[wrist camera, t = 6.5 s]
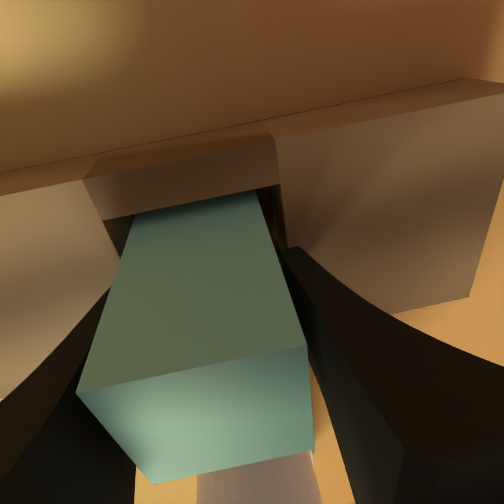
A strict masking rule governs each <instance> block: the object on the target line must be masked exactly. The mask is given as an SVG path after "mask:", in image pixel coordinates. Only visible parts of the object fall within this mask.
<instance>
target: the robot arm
mask: <svg viewBox="0 0 504 504" xmlns="http://www.w3.org/2000/svg"><path fill="white" fill-rule="evenodd" d="M280 255H281V262H282V269H283V275H284V278H285V281H286V284H287V287H288V290H289V293H290V296H291V299H292V302H293V305H294V308H295V311H296V314H297V317H298V320H299V323H300V326H301V328H302V331H303V334H304V337H305V340H306V343H307V351H308V360H309V362H310V365H311V367H312V370H313V372H314V374H315V377H316V379H317V382H318V384H319V386H320V389H321V392H322V395H323V397H324V400H325V403H326V406H327V410H328V413H329V416H330V419H331V422H332V426H333V429H334V432H335V435H336V439H337V442H338V445H339V449H340V452H341V455H342V459H343V462H344V465H345V469H346V472H347V475H348V479H349V482H350V486H351V489H352V493H353V496H354V499H355V503H356V504H504V367H503V366H501V365H498V364H495V363H492V362H490V361H487V360H485V359H482V358H480V357H477V356H475V355H472V354H470V353H468V352H465V351H463V350H460V349H458V348H456V347H453V346H451V345H449V344H447V343H444V342H442V341H440V340H438V339H436V338H434V337H432V336H430V335H427V334H425V333H423V332H421V331H419V330H417V329H415V328H413V327H411V326H409V325H407V324H405V323H403V322H402V321H400V320H398V319H396V318H394V317H393V316H391V315H389V314H388V313H386V312H384V311H382V310H381V309H379V308H378V307H376V306H374V305H373V304H371V303H370V302H368V301H367V300H365V299H364V298H362V297H361V296H360V295H358V294H357V293H355V292H354V291H352V290H351V289H350V288H348V287H347V286H346V285H344V284H343V283H342V282H341V281H339V280H338V279H337V278H336V277H334V276H333V275H332V274H331V273H329V272H328V271H327V270H326V269H325V268H323V267H322V266H321V265H320V264H319V263H318V262H317V261H315V260H314V259H313V258H312V257H311V256H310V255H309V254H308V253H307V252H306V251H305V250H304V249H303V248H301V247H300V246H296V247H291V248H286V249H281V250H280ZM110 289H111V287H110V288H109V289H108V290H107V291H106V292H105V293H104V294H103V295H102V296H101V297H100V298H99V300H98V301H97V302H96V303H95V304H94V305H93V307H92V308H91V309H90V310H89V311H88V312H87V314H86V315H85V316H84V317H83V318H82V319H81V320H80V322H79V323H78V324H77V325H76V326H75V327H74V328H73V330H72V331H71V332H70V333H69V334H68V335H67V336H66V337H65V338H64V340H63V341H62V342H61V343H60V344H59V345H58V346H57V347H56V348H55V349H54V350H53V351H52V352H51V353H50V354H49V355H48V356H47V358H46V359H45V360H44V361H43V362H42V363H41V364H40V365H39V366H38V367H37V368H36V369H35V370H34V371H33V372H32V373H31V374H30V375H29V376H28V377H27V378H26V379H25V380H24V381H23V382H22V383H21V384H19V385H18V386H17V387H16V388H15V389H14V390H13V391H12V392H11V393H10V394H8V395H7V396H6V397H5V398H4V399H3V400H2V401H1V402H0V504H134V494H135V475H136V464H135V463H134V462H133V461H132V460H131V459H130V457H129V456H128V455H127V454H126V453H125V451H124V450H123V449H122V448H121V447H120V445H119V444H118V443H117V442H116V441H115V440H114V438H113V437H112V436H111V435H110V434H109V432H108V431H107V430H106V429H105V428H104V426H103V425H102V424H101V423H100V422H99V420H98V419H97V418H96V417H95V416H94V415H93V413H92V412H91V411H90V410H89V409H88V407H87V406H86V405H85V404H84V403H83V401H82V400H81V399H80V398H79V397H78V396H77V394H76V390H77V387H78V384H79V381H80V378H81V375H82V372H83V369H84V366H85V363H86V360H87V357H88V354H89V351H90V348H91V345H92V342H93V339H94V336H95V333H96V330H97V327H98V325H99V322H100V319H101V316H102V313H103V310H104V307H105V304H106V301H107V298H108V295H109V292H110ZM313 465H314V461H313V453H312V450H311V451H306V452H302V453H297V454H293V455H288V456H283V457H279V458H274V459H269V460H265V461H260V462H255V463H251V464H246V465H241V466H237V467H232V468H227V469H223V470H218V471H213V472H209V473H204V474H199V475H197V504H323V502H322V498H321V495H320V491H319V487H318V483H317V479H316V476H315V472H314V468H313Z"/></svg>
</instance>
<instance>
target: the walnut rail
mask: <svg viewBox="0 0 504 504" xmlns="http://www.w3.org/2000/svg"><path fill="white" fill-rule="evenodd" d="M503 178H504V84H503V83H496V82H490V81H484V80H477V79H471V78H468V79H463V80H458V81H453V82H448V83H443V84H438V85H433V86H428V87H423V88H418V89H414V90H409V91H404V92H399V93H394V94H389V95H384V96H379V97H374V98H369V99H364V100H359V101H354V102H350V103H345V104H340V105H335V106H330V107H325V108H320V109H315V110H310V111H305V112H300V113H295V114H291V115H286V116H281V117H276V118H271V119H266V120H261V121H256V122H251V123H246V124H241V125H236V126H232V127H227V128H222V129H217V130H212V131H207V132H202V133H197V134H192V135H187V136H182V137H177V138H172V139H168V140H163V141H158V142H153V143H148V144H143V145H138V146H133V147H128V148H123V149H118V150H113V151H109V152H104V153H99V154H94V155H89V156H84V157H79V158H74V159H69V160H64V161H59V162H54V163H50V164H45V165H40V166H35V167H30V168H25V169H20V170H15V171H10V172H5V173H0V398H4V397H6V396H7V395H8V394H10V393H11V392H12V391H13V390H14V389H15V388H16V387H17V386H18V385H19V384H21V383H22V382H23V381H24V380H25V379H26V378H27V377H28V376H29V375H30V374H31V373H32V372H33V371H34V370H35V369H36V368H37V367H38V366H39V365H40V364H41V363H42V362H43V361H44V360H45V359H46V358H47V356H48V355H49V354H50V353H51V352H52V351H53V350H54V349H55V348H56V347H57V346H58V345H59V344H60V343H61V342H62V341H63V340H64V338H65V337H66V336H67V335H68V334H69V333H70V332H71V331H72V330H73V328H74V327H75V326H76V325H77V324H78V323H79V322H80V320H81V319H82V318H83V317H84V316H85V315H86V314H87V312H88V311H89V310H90V309H91V308H92V307H93V305H94V304H95V303H96V302H97V301H98V300H99V298H100V297H101V296H102V295H103V294H104V293H105V292H106V291H107V290H108V289H109V288H110V287H111V286H112V283H113V280H114V277H115V274H116V271H117V268H118V265H119V262H120V259H121V256H122V253H123V250H124V247H125V244H126V241H127V238H128V236H129V233H130V230H131V227H132V224H133V220H132V217H131V215H132V214H137V213H142V212H146V211H151V210H156V209H161V208H166V207H171V206H175V205H180V204H185V203H190V202H195V201H199V200H204V199H209V198H214V197H219V196H224V195H228V194H233V193H238V192H243V191H248V190H253V189H257V188H262V187H267V186H270V188H271V195H272V202H273V209H274V216H275V224H276V231H277V238H278V245H279V252H280V250H281V249H286V248H291V247H296V246H300V247H301V248H303V249H304V250H305V251H306V252H307V253H308V254H309V255H310V256H311V257H312V258H313V259H314V260H315V261H317V262H318V263H319V264H320V265H321V266H322V267H323V268H325V269H326V270H327V271H328V272H329V273H331V274H332V275H333V276H334V277H336V278H337V279H338V280H339V281H341V282H342V283H343V284H344V285H346V286H347V287H348V288H350V289H351V290H352V291H354V292H355V293H357V294H358V295H360V296H361V297H362V298H364V299H365V300H367V301H368V302H370V303H371V304H373V305H374V306H376V307H378V308H379V309H381V310H382V311H384V312H386V313H388V314H393V313H398V312H402V311H407V310H411V309H416V308H421V307H425V306H430V305H435V304H439V303H444V302H448V301H453V300H458V299H462V298H467V297H469V294H470V291H471V287H472V284H473V281H474V277H475V274H476V270H477V267H478V263H479V260H480V257H481V253H482V250H483V246H484V243H485V240H486V236H487V233H488V229H489V226H490V223H491V219H492V216H493V212H494V209H495V205H496V202H497V199H498V195H499V192H500V188H501V185H502V182H503ZM280 260H281V255H280ZM281 267H282V262H281ZM282 272H283V269H282Z"/></svg>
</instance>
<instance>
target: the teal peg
mask: <svg viewBox="0 0 504 504" xmlns="http://www.w3.org/2000/svg"><path fill="white" fill-rule="evenodd" d="M76 394H77V396H78V397H79V398H80V399H81V400H82V401H83V403H84V404H85V405H86V406H87V407H88V409H89V410H90V411H91V412H92V413H93V415H94V416H95V417H96V418H97V419H98V420H99V422H100V423H101V424H102V425H103V426H104V428H105V429H106V430H107V431H108V432H109V434H110V435H111V436H112V437H113V438H114V440H115V441H116V442H117V443H118V444H119V445H120V447H121V448H122V449H123V450H124V451H125V453H126V454H127V455H128V456H129V457H130V459H131V460H132V461H133V462H134V463H135V464H136V466H137V467H138V468H139V469H140V470H141V472H142V473H143V474H144V475H145V476H146V478H147V479H148V480H149V481H150V482H151V483H152V485H153V484H158V483H162V482H167V481H171V480H176V479H181V478H185V477H190V476H195V475H199V474H204V473H209V472H213V471H218V470H223V469H227V468H232V467H237V466H241V465H246V464H251V463H255V462H260V461H265V460H269V459H274V458H279V457H283V456H288V455H293V454H297V453H302V452H306V451H311V450H315V441H314V428H313V416H312V403H311V390H310V377H309V364H308V351H307V343H306V340H305V337H304V334H303V331H302V328H301V326H300V323H299V320H298V317H297V314H296V311H295V308H294V305H293V302H292V299H291V296H290V293H289V290H288V287H287V284H286V281H285V278H284V275H283V272H282V269H281V266H280V263H279V260H278V257H277V254H276V251H275V248H274V245H273V243H272V240H271V237H270V234H269V231H268V228H267V225H266V222H265V219H264V216H263V213H262V210H261V207H260V204H259V201H258V198H257V195H256V192H255V189H253V190H248V191H243V192H238V193H233V194H228V195H224V196H219V197H214V198H209V199H204V200H199V201H195V202H190V203H185V204H180V205H175V206H171V207H166V208H161V209H156V210H151V211H146V212H142V213H137V214H136V215H135V218H134V221H133V224H132V227H131V230H130V233H129V236H128V238H127V241H126V244H125V247H124V250H123V253H122V256H121V259H120V262H119V265H118V268H117V271H116V274H115V277H114V280H113V283H112V286H111V289H110V292H109V295H108V298H107V301H106V304H105V307H104V310H103V313H102V316H101V319H100V322H99V325H98V327H97V330H96V333H95V336H94V339H93V342H92V345H91V348H90V351H89V354H88V357H87V360H86V363H85V366H84V369H83V372H82V375H81V378H80V381H79V384H78V387H77V390H76Z"/></svg>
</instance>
